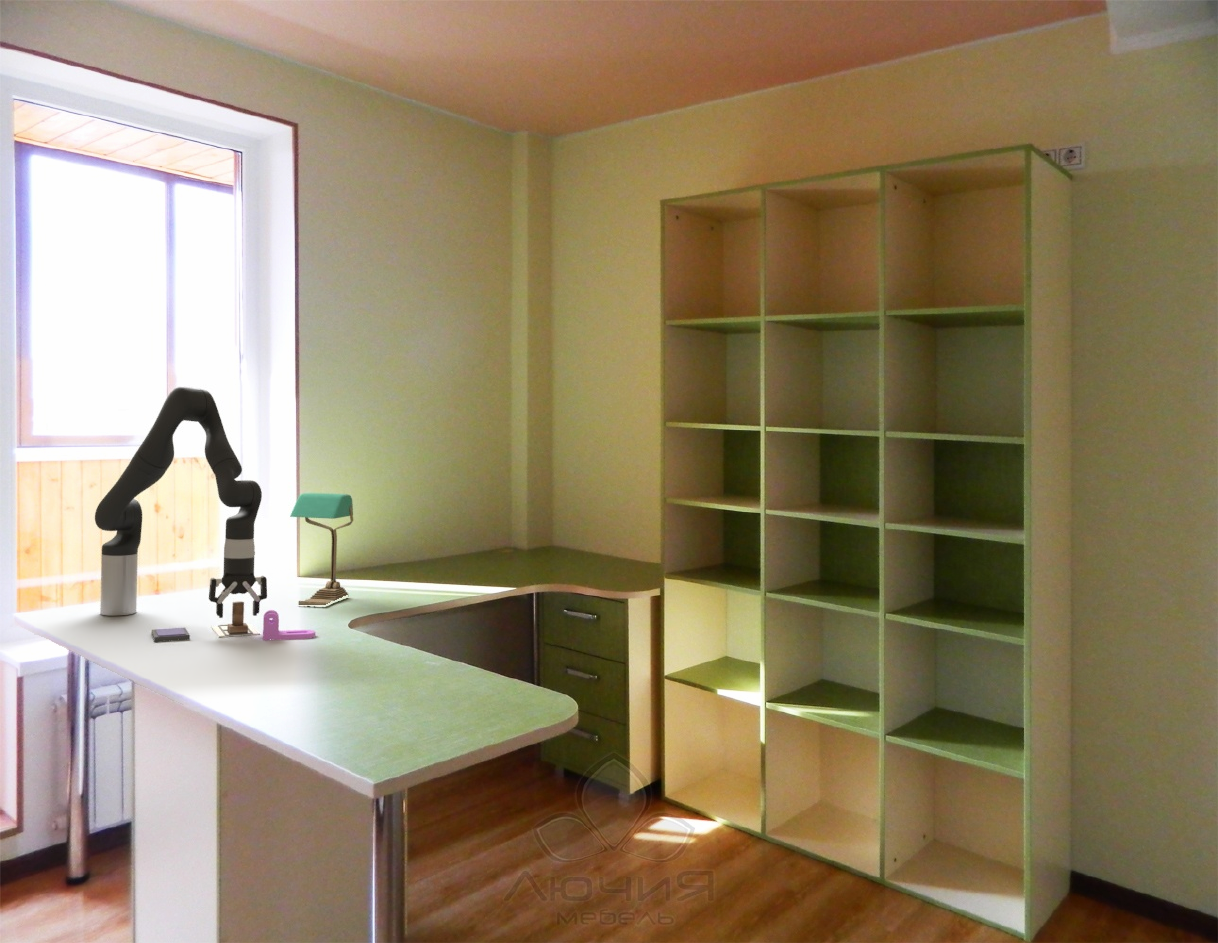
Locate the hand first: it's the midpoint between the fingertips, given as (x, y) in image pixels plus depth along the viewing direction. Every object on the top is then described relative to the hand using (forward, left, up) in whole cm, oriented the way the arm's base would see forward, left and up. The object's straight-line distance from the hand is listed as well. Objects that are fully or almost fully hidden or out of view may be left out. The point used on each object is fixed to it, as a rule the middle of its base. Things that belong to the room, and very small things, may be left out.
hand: (237, 616), depth 243 cm
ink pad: (-2, -16, -5) cm, 17 cm away
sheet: (-4, 0, -5) cm, 6 cm away
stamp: (0, 0, -4) cm, 4 cm away
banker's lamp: (-40, +32, -5) cm, 51 cm away
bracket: (+9, +11, -5) cm, 16 cm away
